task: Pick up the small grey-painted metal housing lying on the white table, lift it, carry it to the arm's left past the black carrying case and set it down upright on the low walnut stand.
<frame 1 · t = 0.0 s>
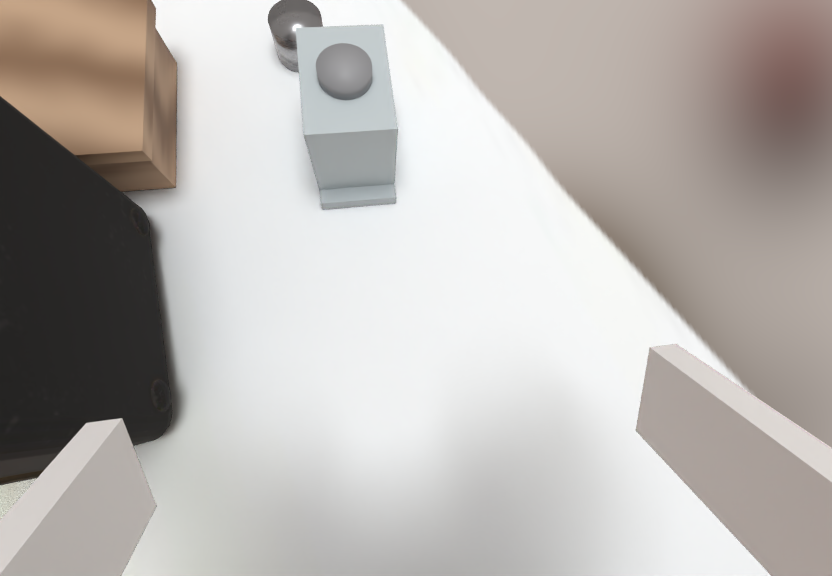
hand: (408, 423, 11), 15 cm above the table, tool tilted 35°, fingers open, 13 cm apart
dark grey metallic dome: (302, 53, 32), on the table
stand: (99, 127, 29), on the table
black carrying case: (102, 329, 25), on the table
housing: (353, 149, 30), on the table
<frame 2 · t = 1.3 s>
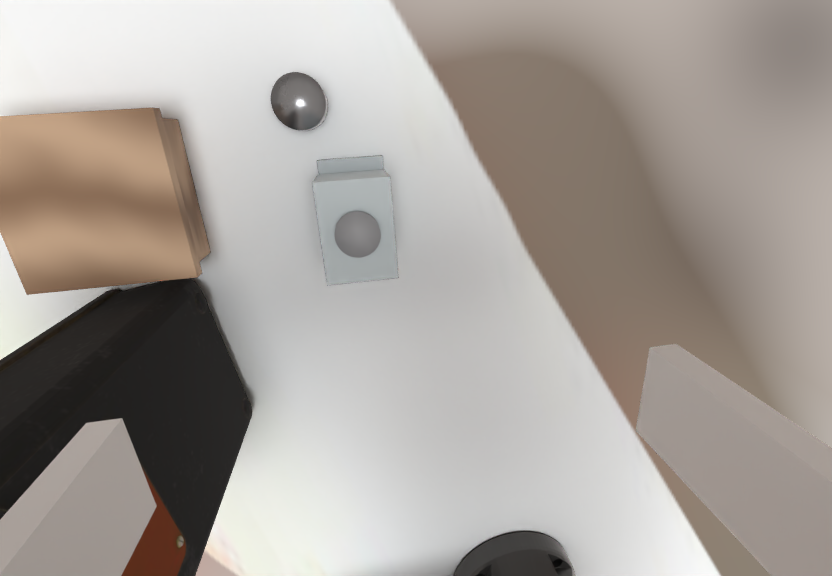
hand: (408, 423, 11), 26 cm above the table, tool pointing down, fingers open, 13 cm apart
dark grey metallic dome: (303, 104, 31), on the table
stand: (125, 195, 31), on the table
black carrying case: (187, 356, 37), on the table
housing: (356, 214, 35), on the table
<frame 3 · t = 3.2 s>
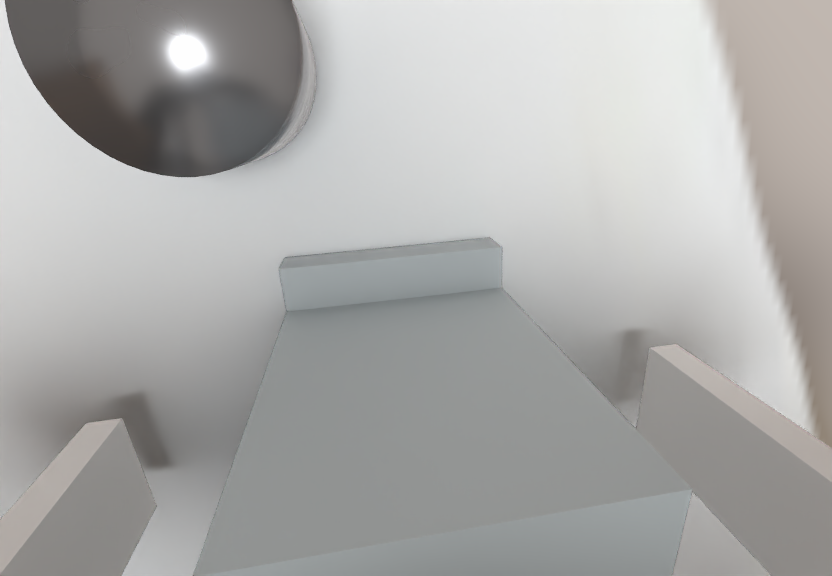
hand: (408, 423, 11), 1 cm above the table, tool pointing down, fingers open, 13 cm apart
dark grey metallic dome: (224, 68, 8), on the table
housing: (403, 399, 12), on the table
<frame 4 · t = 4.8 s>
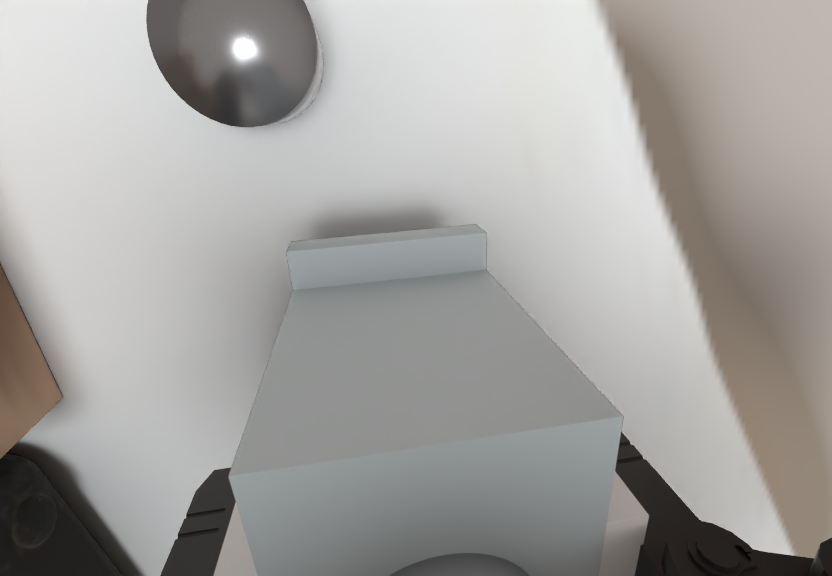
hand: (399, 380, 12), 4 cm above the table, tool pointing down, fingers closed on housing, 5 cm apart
dark grey metallic dome: (260, 58, 12), on the table
housing: (398, 374, 13), point 3 cm above the table, touching gripper
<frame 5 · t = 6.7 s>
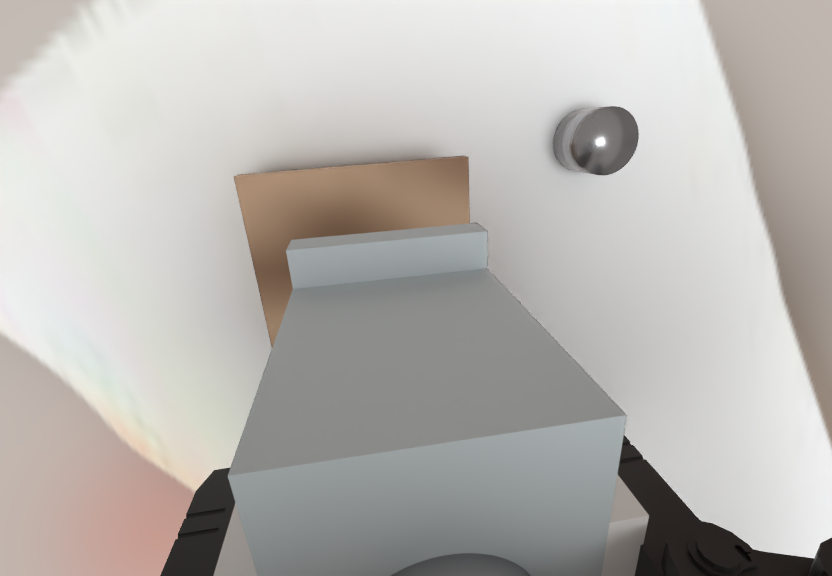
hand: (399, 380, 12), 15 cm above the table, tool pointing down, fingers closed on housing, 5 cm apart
dark grey metallic dome: (580, 140, 26), on the table
stand: (364, 250, 26), on the table
housing: (398, 373, 13), point 15 cm above the table, touching gripper
when the fingers open (6 cm above the table, at t = 8.6 s): housing stays where it is, resting on stand.
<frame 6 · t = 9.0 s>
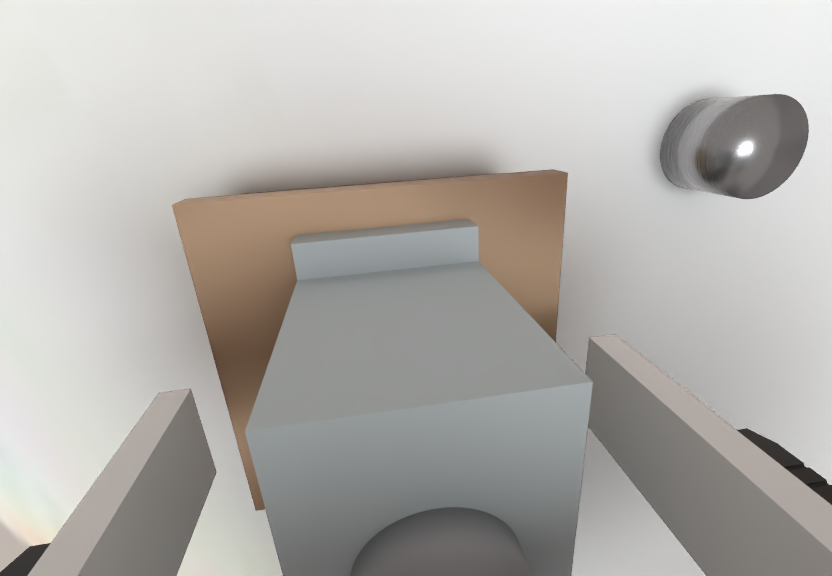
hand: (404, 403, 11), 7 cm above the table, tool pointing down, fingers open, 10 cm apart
dark grey metallic dome: (698, 145, 18), on the table
stand: (384, 300, 18), on the table
housing: (396, 361, 14), point 5 cm above the table, touching stand
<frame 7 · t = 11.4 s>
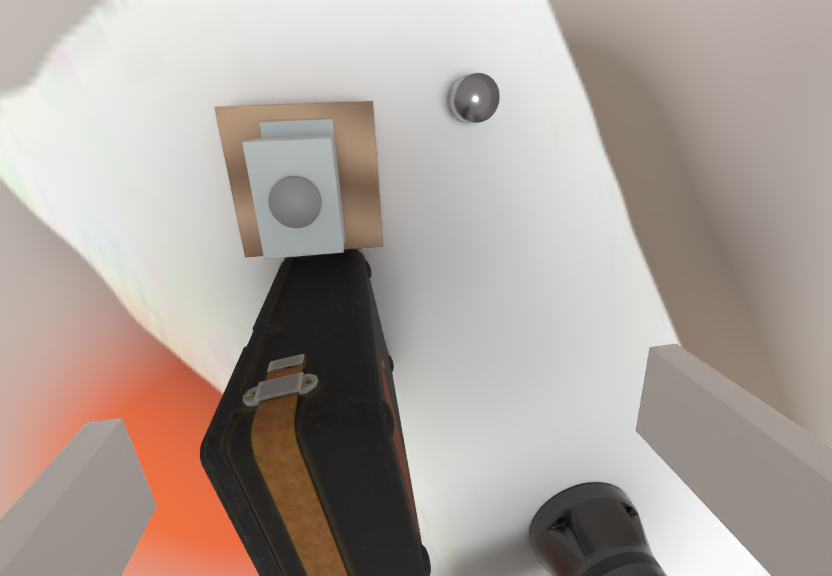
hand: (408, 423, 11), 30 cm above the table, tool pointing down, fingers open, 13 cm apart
dark grey metallic dome: (467, 99, 36), on the table
stand: (311, 174, 36), on the table
black carrying case: (338, 317, 42), on the table
housing: (306, 184, 32), point 5 cm above the table, touching stand
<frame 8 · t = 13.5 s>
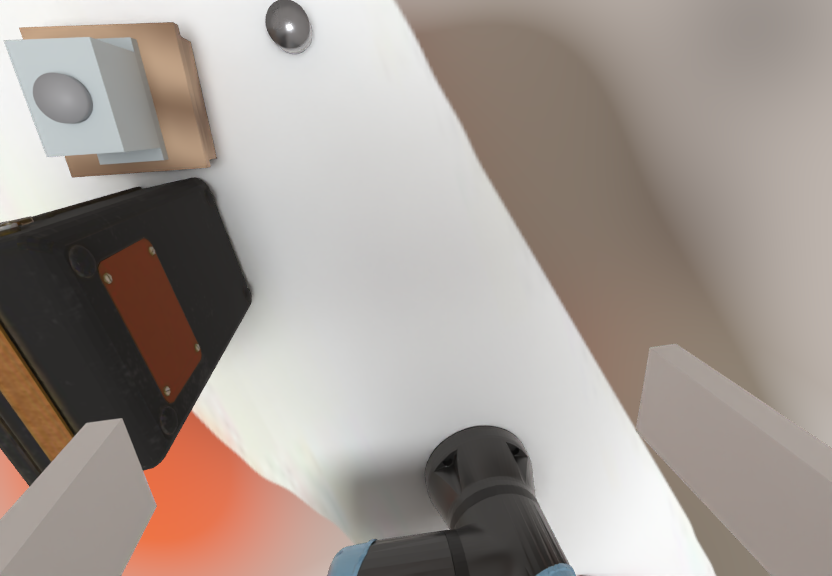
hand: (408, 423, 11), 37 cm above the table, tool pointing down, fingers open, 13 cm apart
dark grey metallic dome: (292, 31, 38), on the table
stand: (147, 105, 39), on the table
black carrying case: (197, 251, 44), on the table
housing: (121, 104, 34), point 5 cm above the table, touching stand
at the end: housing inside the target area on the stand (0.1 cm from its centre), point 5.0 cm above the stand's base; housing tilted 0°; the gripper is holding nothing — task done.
